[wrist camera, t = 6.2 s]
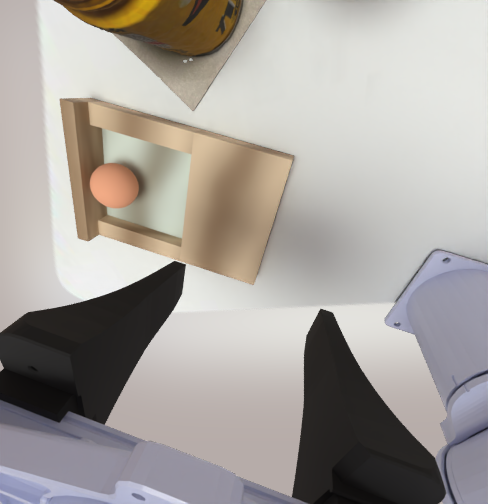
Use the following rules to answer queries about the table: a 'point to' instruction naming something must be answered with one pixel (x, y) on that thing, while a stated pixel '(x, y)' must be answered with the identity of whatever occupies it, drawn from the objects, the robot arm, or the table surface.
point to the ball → (114, 185)
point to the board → (175, 187)
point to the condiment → (174, 35)
